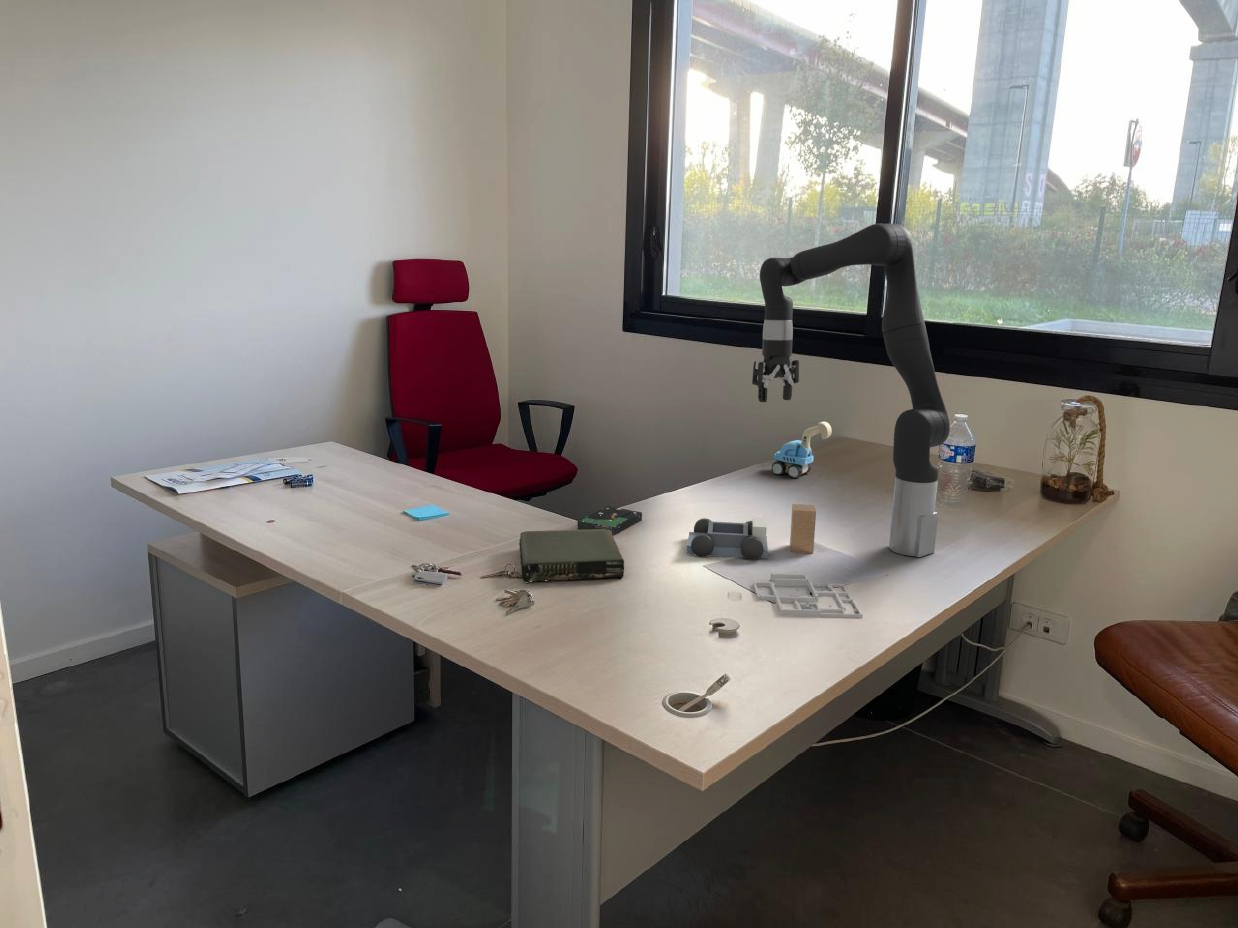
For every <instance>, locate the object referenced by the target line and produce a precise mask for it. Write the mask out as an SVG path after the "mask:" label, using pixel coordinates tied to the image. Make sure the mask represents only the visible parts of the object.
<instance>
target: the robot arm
mask: <svg viewBox="0 0 1238 928" xmlns="http://www.w3.org/2000/svg"><path fill="white" fill-rule="evenodd" d="M859 265H860V266H861V265H871V266H876V267H879V266H882V267H883V271H884V275H885V279H886V283H887V284H886V285H887V297H886V302H885V307H884V310H883V315H882V320H881V321H882V322H881V331H882V335H883V340H884V345H885V350H886V353H887V357H888V358H889V360H890V362H891V364H892V365H893V367H894V368H895V370H896V371H897V372H898V374H899V375H900V377H901V378H902V380H903V382H904V383H905V385H906V387H907V390H908V392H909V396H910V401H911V406H912V408H911V409H906V410H905V411H902V412H901V413H900V414H899V415H898V417H897V420H896V421H895V424H894V431H893V445H892V446H893V451H892V461H893V465H894V469H895V475H894V476H895V477H894V486H893V487H894V488H893V496H892V498H893V499H892V506H891V519H890V531H889V541H888V549H889V550H890V551H892V553H896V554H899V555H903V556H908V557H909V556H910V557H916V558H921V557H923V556H927V555H930V554H933V553H935V548H936V541H937V540H936V539H937V529H938V522H939V521H938V519H939V513H938V512H937V511H936V501H937V490H938V482H939V481H938V480H939V473H940V471H939V467H938V466H937V465H936V464H933V463H931V461H930V459H931V458H930V454H931V448H934V447H938V446H940V445H942V444H944V443H945V442H946V441H947V439H948V438H949V435H950V431H951V429H950V428H951V427H950V426H951V425H950V424H951V423H950V419H949V416H948V415H949V414H948V412H947V408H946V405H945V403H944V399H943V396H942V393H941V390H940V387H939V384H938V379H937V375H936V371H935V370H936V369H935V367H934V366H935V365H934V362H933V358H932V353H931V350H930V342H929V337H928V332H927V327H926V323H925V318H924V314H923V311H922V306H921V300H920V299H921V298H920V293H919V290H918V289H919V288H918V283H917V278H916V270H915V267H916V266H915V257H914V247H913V241H912V237H911V234H910V233H909V231H908V229H907V228H905V226H903V225H901V224H898V223H874V224H871V225H869V226H867V227H865V228H863V229H860V230H859V231H856V232H854V233H853V234H851V235H849V236H847V237H845V238H843V239H839V240H837V241H834V242H831V243H828V244H824V245H820V246H816V247H813V248H809V249H805V250H803V251H800V252H798V253H796V254H795V255H794V256H792V257H769V258H767V259H765V260H764V262H763V263H762V264H761V267H760V270H759V282H760V286H761V291H762V296H763V299H764V306H765V307H764V322H763V327H762V346H761V347H762V349H761V350H762V353H761V354H762V356H763V361H754V362H753V369H752V378H751V379H752V382H751V383H752V384H751V385H753V386H757V389H758V391H757V392H758V395H757V398H758V401H759V402H760V403H767V402H768V385H769V383H770V382H772V381H773V379H781V380H782V382H783V386H782V387H783V388H782V389H783V390H782V399H783V400H785V401H791V400H792V397H793V396H792V395H793V386H794V384H798V383H799V382H800V378H799V377H800V361H799V360H798V359H790V358H791V357H792V355H793V336H794V335H793V334H794V332H793V331H794V327H793V316H794V315H793V314H794V311H793V309H794V301H793V299H792V298H791V297H790V296H787V295H785V294H784V291H783V287H791V286H796V285H799V284H801V283H803V282H805V281H807V280H813V279H816V278H822V277H824V276H827V275H831V274H832V273H834V272H835V271H838V270H839V269H842V268H845V267H850V266H859Z"/></svg>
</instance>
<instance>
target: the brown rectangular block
mask: <svg viewBox="0 0 1238 928" xmlns="http://www.w3.org/2000/svg"><path fill="white" fill-rule="evenodd" d="M816 520H817V510H816V505H814V504H800V503H799V504H798V503H797V504H796V503H792V506H791V522H790V539H789V549H790V552H791V553H795V554H796V553H798V554H801V553H802V554H814V550H815V549H814V548H815V547H814V546H815V537H816V536H815V533H816V532H815V531H816Z"/></svg>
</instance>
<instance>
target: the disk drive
mask: <svg viewBox="0 0 1238 928" xmlns="http://www.w3.org/2000/svg"><path fill="white" fill-rule="evenodd" d="M600 515H601V516H600ZM583 521H584V522H583ZM641 521H642V522H643V512H642V511H637V510H630V509H626V508H620V509H617V508H616V507H615V506H610V505H608V506H604V507H603V508H601V509H599V510H596V511H595V512H592V513H590V514H589V515H586V516H584V517H582V518H580V519H578V520H577V530H592V529H605V530H610V531H612V535H613V537H614V536H615V535H618V534H620V533H622V532H624V531H625V530H627V529H629V528H630V527H632V526H634V525H636V524H638V523H640V522H641ZM621 531H622V532H621Z"/></svg>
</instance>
